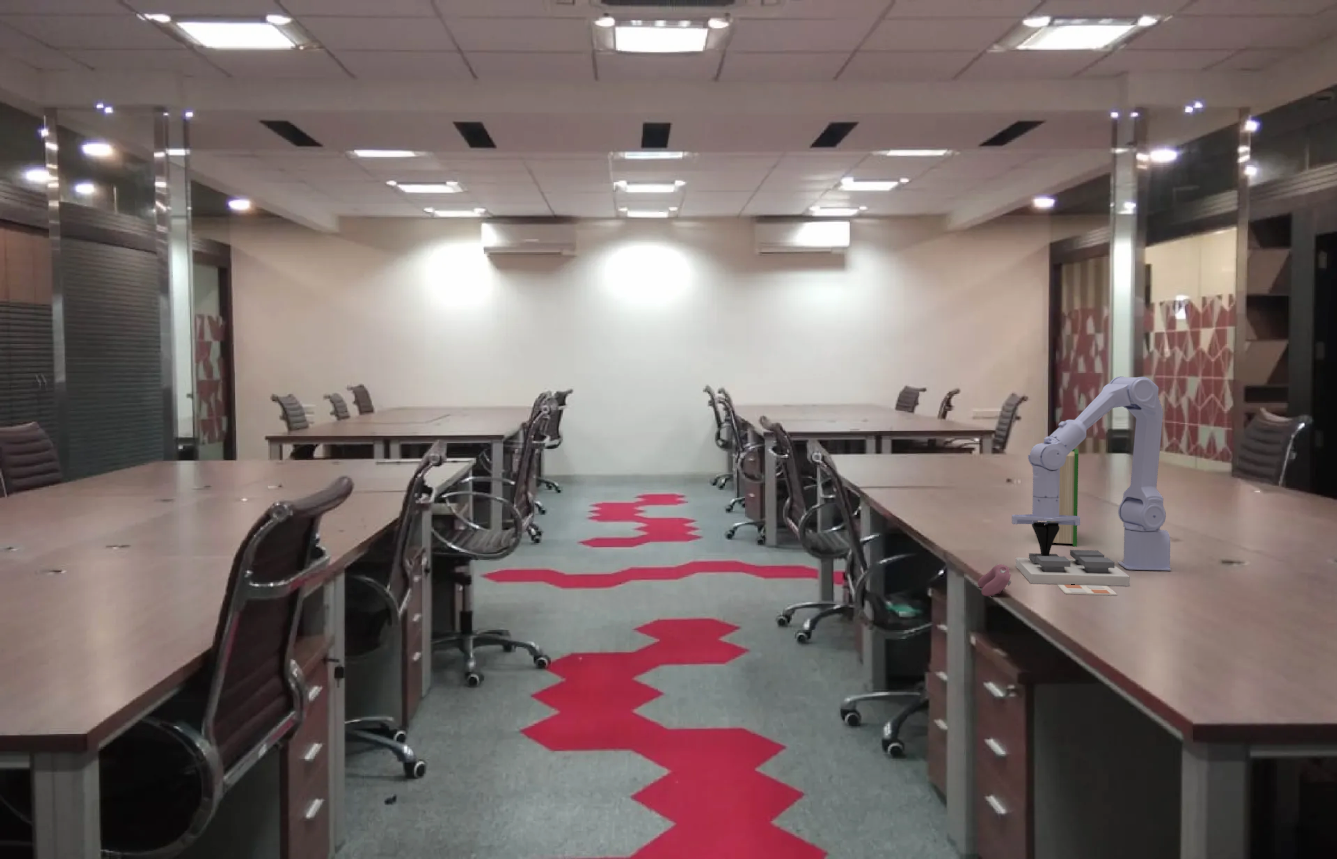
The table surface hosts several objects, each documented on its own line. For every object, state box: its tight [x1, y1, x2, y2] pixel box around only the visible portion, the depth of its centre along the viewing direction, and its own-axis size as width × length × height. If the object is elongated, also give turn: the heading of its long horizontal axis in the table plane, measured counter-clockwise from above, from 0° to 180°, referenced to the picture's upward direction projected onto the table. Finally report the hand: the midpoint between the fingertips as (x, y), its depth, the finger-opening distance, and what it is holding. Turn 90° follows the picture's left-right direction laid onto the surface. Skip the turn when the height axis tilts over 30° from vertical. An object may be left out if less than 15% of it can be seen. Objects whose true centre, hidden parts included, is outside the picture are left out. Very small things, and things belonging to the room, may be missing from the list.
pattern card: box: [1056, 584, 1118, 596], centre depth 219 cm, size 10×8×1 cm
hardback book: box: [1046, 448, 1079, 548], centre depth 281 cm, size 18×7×24 cm, turn 159°
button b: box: [1028, 552, 1059, 564], centre depth 240 cm, size 6×6×3 cm
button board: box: [1015, 557, 1131, 587], centre depth 235 cm, size 20×20×2 cm
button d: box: [1036, 555, 1071, 572], centre depth 231 cm, size 6×6×3 cm
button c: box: [1079, 556, 1116, 573], centre depth 229 cm, size 6×6×3 cm
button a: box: [1069, 549, 1105, 565], centre depth 238 cm, size 6×6×3 cm
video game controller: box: [977, 563, 1012, 597], centre depth 218 cm, size 10×5×7 cm, turn 169°
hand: (1045, 556), depth 240 cm, fingers closed, pressing on button b
